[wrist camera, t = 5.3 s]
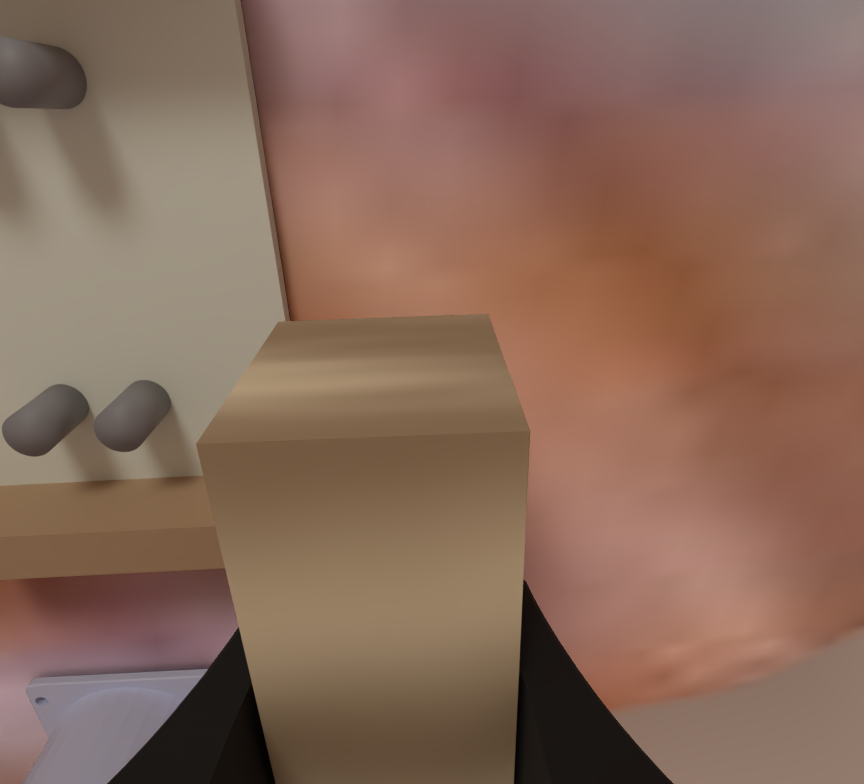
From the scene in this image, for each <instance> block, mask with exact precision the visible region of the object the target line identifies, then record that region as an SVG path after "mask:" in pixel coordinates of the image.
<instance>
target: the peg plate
mask: <svg viewBox="0 0 864 784" xmlns="http://www.w3.org/2000/svg"><path fill="white" fill-rule="evenodd" d="M285 321H290V317H289V310H288V304H287V297H286V291H285V284H284V278H283V271H282V265H281V259H280V252H279V246H278V239H277V233H276V226H275V220H274V213H273V207H272V200H271V194H270V187H269V181H268V175H267V168H266V162H265V155H264V149H263V142H262V136H261V129H260V123H259V116H258V110H257V103H256V97H255V91H254V84H253V78H252V71H251V65H250V58H249V52H248V45H247V39H246V32H245V26H244V19H243V13H242V6H241V0H0V580H8V579H27V578H47V577H67V576H86V575H106V574H126V573H145V572H165V571H184V570H204V569H224V568H225V566H224V562H223V557H222V553H221V549H220V545H219V540H218V536H217V532H216V528H215V523H214V519H213V515H212V510H211V506H210V502H209V498H208V493H207V489H206V485H205V481H204V476H203V472H202V468H201V464H200V459H199V455H198V451H197V446H196V443H197V442H198V440H199V439H200V437H201V436H202V434H203V433H204V431H205V430H206V428H207V427H208V425H209V424H210V422H211V421H212V419H213V418H214V416H215V415H216V413H217V412H218V410H219V409H220V407H221V406H222V405H223V403H224V402H225V400H226V399H227V397H228V396H229V394H230V393H231V391H232V390H233V388H234V387H235V385H236V384H237V382H238V381H239V379H240V378H241V376H242V375H243V373H244V372H245V370H246V369H247V367H248V366H249V364H250V363H251V361H252V360H253V359H254V357H255V356H256V354H257V353H258V351H259V350H260V348H261V347H262V345H263V344H264V342H265V341H266V339H267V338H268V336H269V335H270V333H271V332H272V330H273V329H274V327H275V326H276V324H277V323H278V322H285Z"/></svg>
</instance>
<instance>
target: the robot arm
mask: <svg viewBox="0 0 864 784" xmlns="http://www.w3.org/2000/svg"><path fill="white" fill-rule="evenodd" d="M26 693H27V695H28V697H29V699H30V701H31V703H32V705H33V707H34V709H35V711H36V713H37V715H38V717H39V719H40V721H41V723H42V725H43V727H44V729H45V731H46V733H47V735H48V737H49V739H48V741H47V743H46V745H45V746H44V748H43V750H42V751H41V753H40V755H39V756H38V758H37V760H36V761H35V763H34V765H33V767H32V768H31V770H30V772H29V773H28V775H27V777H26V778H25V780H24V782H23V783H22V784H275V779H274V775H273V771H272V767H271V762H270V758H269V754H268V749H267V745H266V741H265V737H264V732H263V728H262V724H261V720H260V715H259V711H258V707H257V703H256V698H255V694H254V690H253V685H252V681H251V677H250V673H249V668H248V664H247V660H246V656H245V651H244V647H243V643H242V639H241V634H240V630H239V627H238V629H237V630H236V632H235V633H234V635H233V636H232V637H231V639H230V640H229V642H228V643H227V644H226V646H225V647H224V648H223V650H222V651H221V652H220V654H219V655H218V656H217V658H216V659H215V660H214V662H213V663H212V664H211V666H210V667H209V668H208V669H194V670H175V671H156V672H136V673H117V674H97V675H78V676H58V677H40V678H35V679H33V680H32V681H31V682H30V683H29V685H28V686H27V688H26ZM514 784H673V783H672V782H671V781H670V780H669V779H668V778H667V777H666V776H665V775H664V773H662V771H661V770H660V769H659V768H658V767H657V766H656V765H655V764H654V763H653V761H652V760H651V759H650V758H649V757H648V756H647V755H646V754H645V753H644V752H643V751H642V749H641V748H640V747H639V746H638V745H637V744H636V743H635V741H634V740H633V739H632V738H631V737H630V735H629V734H628V733H627V732H626V731H625V730H624V729H623V727H622V726H621V725H620V724H619V722H618V721H617V720H616V719H615V718H614V716H613V715H612V714H611V713H610V711H609V710H608V709H607V708H606V706H605V705H604V704H603V702H602V701H601V700H600V698H599V697H598V696H597V694H596V693H595V692H594V690H593V689H592V688H591V686H590V685H589V684H588V682H587V681H586V680H585V678H584V677H583V675H582V674H581V673H580V671H579V670H578V668H577V667H576V665H575V664H574V662H573V661H572V659H571V658H570V656H569V655H568V654H567V652H566V651H565V649H564V648H563V646H562V645H561V643H560V642H559V640H558V638H557V637H556V635H555V634H554V632H553V630H552V629H551V627H550V625H549V624H548V622H547V620H546V619H545V617H544V615H543V613H542V612H541V610H540V608H539V606H538V605H537V603H536V601H535V599H534V597H533V595H532V593H531V591H530V589H529V587H528V585H527V582H526V581H525V580H523V596H522V618H521V639H520V661H519V682H518V704H517V725H516V747H515V768H514Z"/></svg>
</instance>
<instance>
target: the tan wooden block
mask: <svg viewBox="0 0 864 784" xmlns="http://www.w3.org/2000/svg"><path fill="white" fill-rule="evenodd" d="M196 446H197V451H198V455H199V459H200V464H201V468H202V472H203V476H204V481H205V485H206V489H207V493H208V498H209V502H210V506H211V510H212V515H213V519H214V523H215V528H216V532H217V536H218V540H219V545H220V549H221V553H222V557H223V562H224V566H225V570H226V574H227V579H228V583H229V587H230V592H231V596H232V600H233V604H234V609H235V613H236V617H237V621H238V626H239V630H240V634H241V639H242V643H243V647H244V651H245V656H246V660H247V664H248V668H249V673H250V677H251V681H252V685H253V690H254V694H255V698H256V703H257V707H258V711H259V715H260V720H261V724H262V728H263V732H264V737H265V741H266V745H267V749H268V754H269V758H270V762H271V767H272V771H273V775H274V779H275V784H514V768H515V747H516V725H517V704H518V682H519V661H520V639H521V618H522V596H523V575H524V553H525V532H526V511H527V489H528V468H529V446H530V429H529V426H528V424H527V421H526V418H525V415H524V412H523V410H522V407H521V404H520V401H519V399H518V396H517V393H516V390H515V388H514V385H513V382H512V379H511V377H510V374H509V371H508V368H507V365H506V363H505V360H504V357H503V354H502V352H501V349H500V346H499V343H498V341H497V338H496V335H495V332H494V329H493V327H492V324H491V321H490V318H489V316H488V314H474V315H447V316H420V317H393V318H366V319H339V320H312V321H285V322H278V323H277V324H276V326H275V327H274V329H273V330H272V332H271V333H270V335H269V336H268V338H267V339H266V341H265V342H264V344H263V345H262V347H261V348H260V350H259V351H258V353H257V354H256V356H255V357H254V359H253V360H252V361H251V363H250V364H249V366H248V367H247V369H246V370H245V372H244V373H243V375H242V376H241V378H240V379H239V381H238V382H237V384H236V385H235V387H234V388H233V390H232V391H231V393H230V394H229V396H228V397H227V399H226V400H225V402H224V403H223V405H222V406H221V407H220V409H219V410H218V412H217V413H216V415H215V416H214V418H213V419H212V421H211V422H210V424H209V425H208V427H207V428H206V430H205V431H204V433H203V434H202V436H201V437H200V439H199V440H198V442H197V443H196Z"/></svg>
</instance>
